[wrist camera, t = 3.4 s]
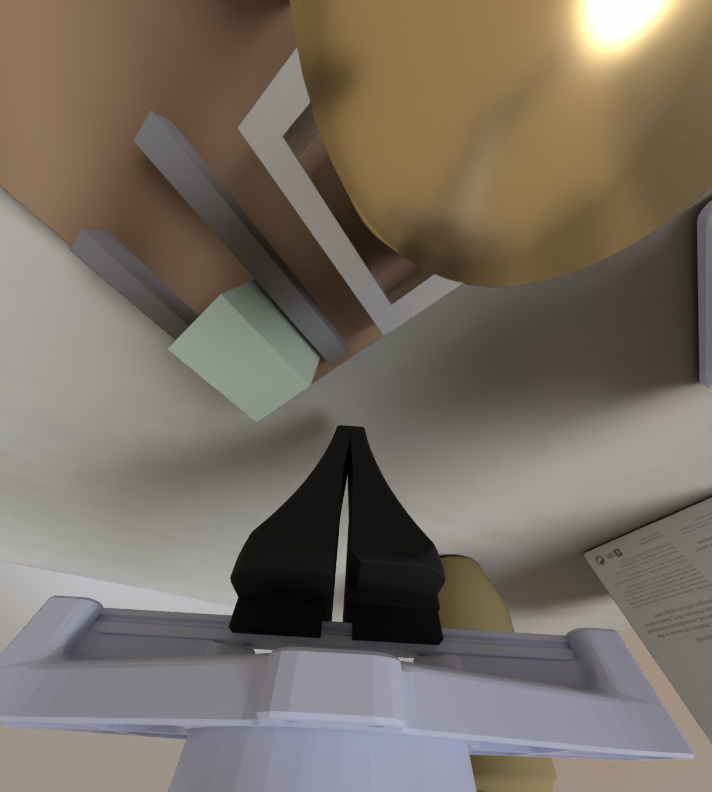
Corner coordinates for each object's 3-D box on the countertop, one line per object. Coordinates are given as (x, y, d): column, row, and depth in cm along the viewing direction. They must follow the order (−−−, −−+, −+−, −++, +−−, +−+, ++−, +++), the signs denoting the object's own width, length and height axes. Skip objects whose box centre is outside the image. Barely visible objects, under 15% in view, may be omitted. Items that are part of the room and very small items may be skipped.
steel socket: (547, 202, 9) (591, 195, 7) (381, 320, 11) (384, 336, 9) (466, -101, 6) (508, -241, 4) (264, 149, 8) (237, 128, 6)
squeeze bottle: (489, 580, 27) (644, 1014, 12) (415, 586, 29) (471, 982, 14) (491, 543, 23) (732, 1140, 8) (403, 552, 24) (466, 1074, 9)
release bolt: (321, 353, 12) (310, 386, 9) (277, 385, 13) (256, 422, 10) (256, 278, 10) (220, 293, 8) (211, 322, 11) (167, 349, 9)
